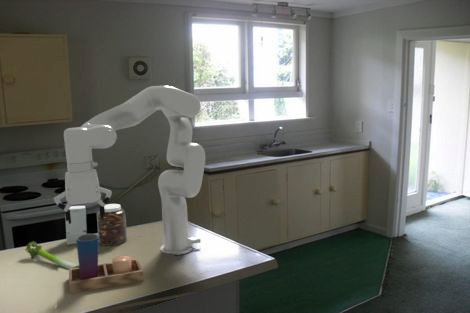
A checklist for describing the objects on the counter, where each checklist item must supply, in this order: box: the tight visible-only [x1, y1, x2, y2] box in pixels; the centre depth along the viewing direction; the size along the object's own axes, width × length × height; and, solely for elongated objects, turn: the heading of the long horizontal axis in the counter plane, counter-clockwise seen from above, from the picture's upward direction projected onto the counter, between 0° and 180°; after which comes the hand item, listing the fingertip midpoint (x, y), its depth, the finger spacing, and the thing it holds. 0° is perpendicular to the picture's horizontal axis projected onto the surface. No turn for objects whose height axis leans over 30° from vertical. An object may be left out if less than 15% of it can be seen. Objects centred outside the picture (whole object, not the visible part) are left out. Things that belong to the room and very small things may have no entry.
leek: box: [25, 240, 79, 270], centre depth 160 cm, size 6×7×30 cm
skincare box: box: [64, 205, 88, 246], centre depth 182 cm, size 8×6×15 cm
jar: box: [96, 203, 128, 247], centre depth 182 cm, size 12×12×15 cm
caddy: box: [68, 258, 144, 294], centre depth 142 cm, size 22×12×4 cm, turn 111°
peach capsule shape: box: [112, 255, 132, 275], centre depth 143 cm, size 6×6×6 cm
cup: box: [76, 233, 99, 280], centre depth 139 cm, size 7×7×15 cm
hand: (86, 220), depth 138 cm, fingers open, 9 cm apart
